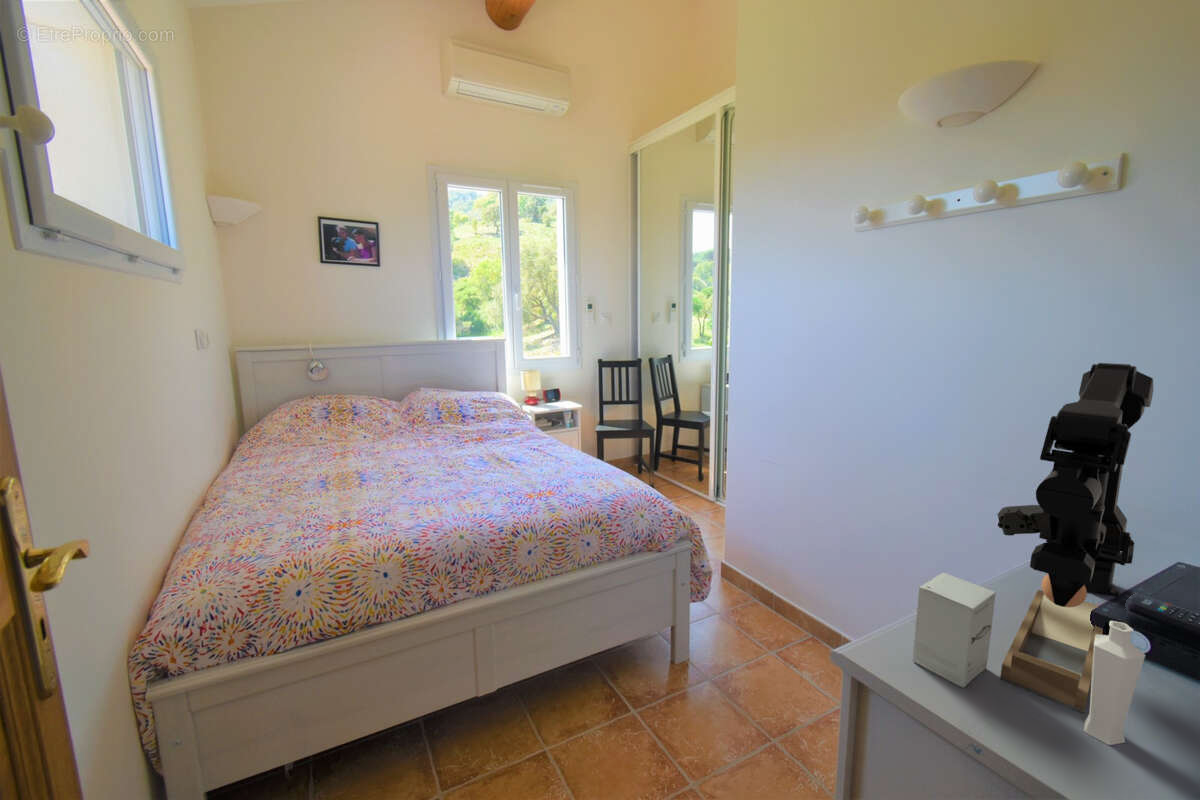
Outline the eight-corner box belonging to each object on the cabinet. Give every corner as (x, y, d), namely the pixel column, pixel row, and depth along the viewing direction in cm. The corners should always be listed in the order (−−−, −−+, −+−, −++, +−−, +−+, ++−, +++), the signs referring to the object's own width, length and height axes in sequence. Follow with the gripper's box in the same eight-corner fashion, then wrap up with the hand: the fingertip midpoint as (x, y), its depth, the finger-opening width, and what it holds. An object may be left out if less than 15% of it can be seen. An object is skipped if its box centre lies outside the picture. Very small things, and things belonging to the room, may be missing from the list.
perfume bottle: (1085, 740, 65) (1102, 632, 63) (1073, 715, 69) (1089, 612, 66) (1135, 754, 63) (1155, 642, 60) (1120, 727, 67) (1139, 621, 64)
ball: (1035, 592, 81) (1039, 562, 80) (1077, 599, 79) (1082, 568, 78) (1044, 609, 77) (1049, 578, 76) (1089, 617, 75) (1094, 585, 74)
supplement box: (964, 690, 74) (973, 609, 72) (910, 661, 80) (916, 585, 78) (988, 669, 78) (997, 591, 76) (935, 642, 84) (942, 570, 82)
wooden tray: (1036, 603, 94) (1039, 579, 93) (1105, 624, 87) (1109, 599, 86) (1000, 680, 76) (1003, 652, 75) (1083, 715, 70) (1088, 684, 69)
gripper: (1019, 469, 87) (1009, 557, 90) (991, 502, 75) (980, 602, 78) (1113, 485, 79) (1098, 581, 82) (1098, 525, 67) (1081, 635, 70)
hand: (1062, 597), depth 78 cm, fingers closed on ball, 5 cm apart
